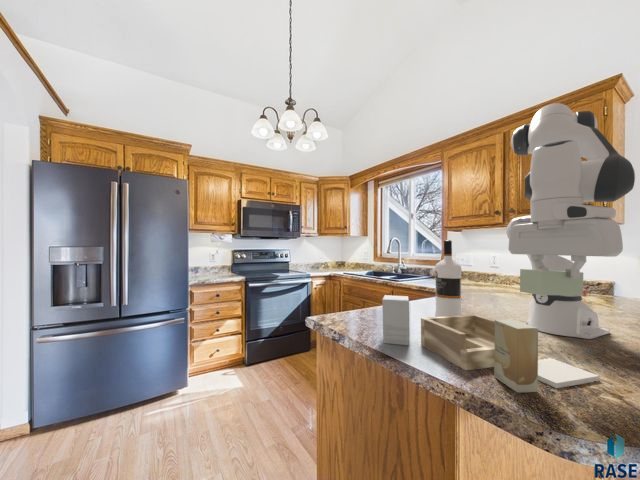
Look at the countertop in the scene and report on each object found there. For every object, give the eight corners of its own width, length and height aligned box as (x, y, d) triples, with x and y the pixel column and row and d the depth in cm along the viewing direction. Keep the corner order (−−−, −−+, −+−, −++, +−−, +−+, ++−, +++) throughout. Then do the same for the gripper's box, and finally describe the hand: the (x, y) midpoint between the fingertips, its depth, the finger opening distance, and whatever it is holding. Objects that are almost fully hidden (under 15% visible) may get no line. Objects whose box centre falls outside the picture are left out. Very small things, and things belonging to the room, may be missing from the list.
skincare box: (493, 377, 56) (492, 318, 56) (512, 376, 56) (511, 318, 56) (518, 394, 49) (517, 327, 50) (540, 393, 50) (539, 327, 50)
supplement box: (409, 337, 80) (409, 295, 80) (409, 346, 73) (409, 300, 73) (384, 335, 82) (384, 294, 83) (382, 343, 75) (382, 298, 76)
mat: (551, 362, 63) (551, 358, 63) (599, 380, 54) (599, 375, 54) (512, 368, 60) (511, 363, 60) (556, 388, 51) (556, 383, 51)
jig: (474, 339, 79) (474, 314, 79) (529, 361, 63) (529, 330, 64) (421, 344, 74) (420, 317, 74) (465, 370, 59) (465, 336, 59)
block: (559, 292, 62) (559, 270, 62) (583, 295, 57) (583, 272, 58) (519, 291, 59) (520, 269, 59) (541, 295, 54) (541, 270, 54)
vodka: (465, 332, 86) (464, 239, 87) (434, 328, 89) (433, 239, 90) (461, 324, 94) (460, 240, 95) (433, 321, 98) (432, 240, 99)
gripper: (501, 218, 68) (502, 272, 68) (604, 206, 48) (606, 282, 48) (520, 219, 70) (521, 271, 69) (627, 208, 50) (629, 281, 50)
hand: (557, 276), depth 59 cm, fingers closed on block, 4 cm apart
